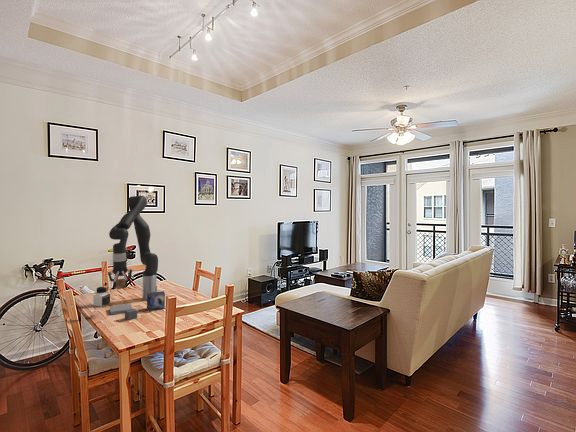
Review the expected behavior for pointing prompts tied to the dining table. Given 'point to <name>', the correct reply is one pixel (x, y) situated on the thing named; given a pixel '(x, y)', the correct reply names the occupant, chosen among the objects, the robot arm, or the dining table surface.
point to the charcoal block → (130, 314)
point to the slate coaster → (119, 309)
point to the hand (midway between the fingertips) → (120, 286)
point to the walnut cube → (120, 283)
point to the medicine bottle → (101, 297)
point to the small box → (155, 300)
